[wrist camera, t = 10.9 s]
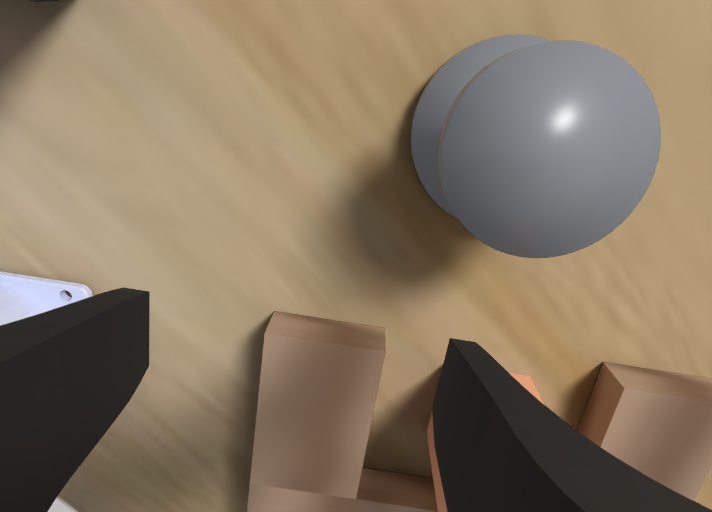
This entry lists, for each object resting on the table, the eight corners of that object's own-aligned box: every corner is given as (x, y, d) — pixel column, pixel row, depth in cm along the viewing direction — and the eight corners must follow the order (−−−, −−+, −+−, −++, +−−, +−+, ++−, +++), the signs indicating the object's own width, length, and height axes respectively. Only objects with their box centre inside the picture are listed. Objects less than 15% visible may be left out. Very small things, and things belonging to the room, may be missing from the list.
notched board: (253, 511, 26) (243, 545, 24) (274, 311, 22) (264, 333, 20) (621, 566, 26) (640, 603, 24) (711, 378, 22) (742, 406, 20)
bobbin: (395, 208, 20) (402, 254, 15) (430, 22, 18) (453, -2, 12) (563, 235, 20) (628, 289, 15) (620, 53, 18) (722, 43, 12)
